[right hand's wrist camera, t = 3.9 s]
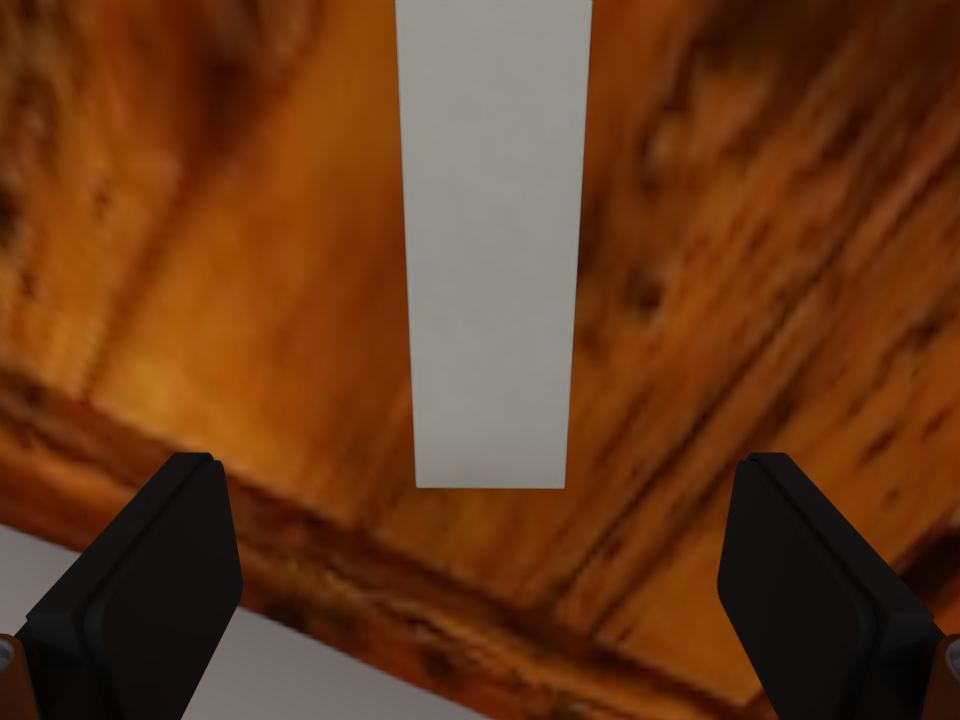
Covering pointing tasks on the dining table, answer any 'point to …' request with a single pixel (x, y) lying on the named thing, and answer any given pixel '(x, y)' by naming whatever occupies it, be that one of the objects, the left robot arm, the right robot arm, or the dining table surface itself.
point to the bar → (492, 232)
